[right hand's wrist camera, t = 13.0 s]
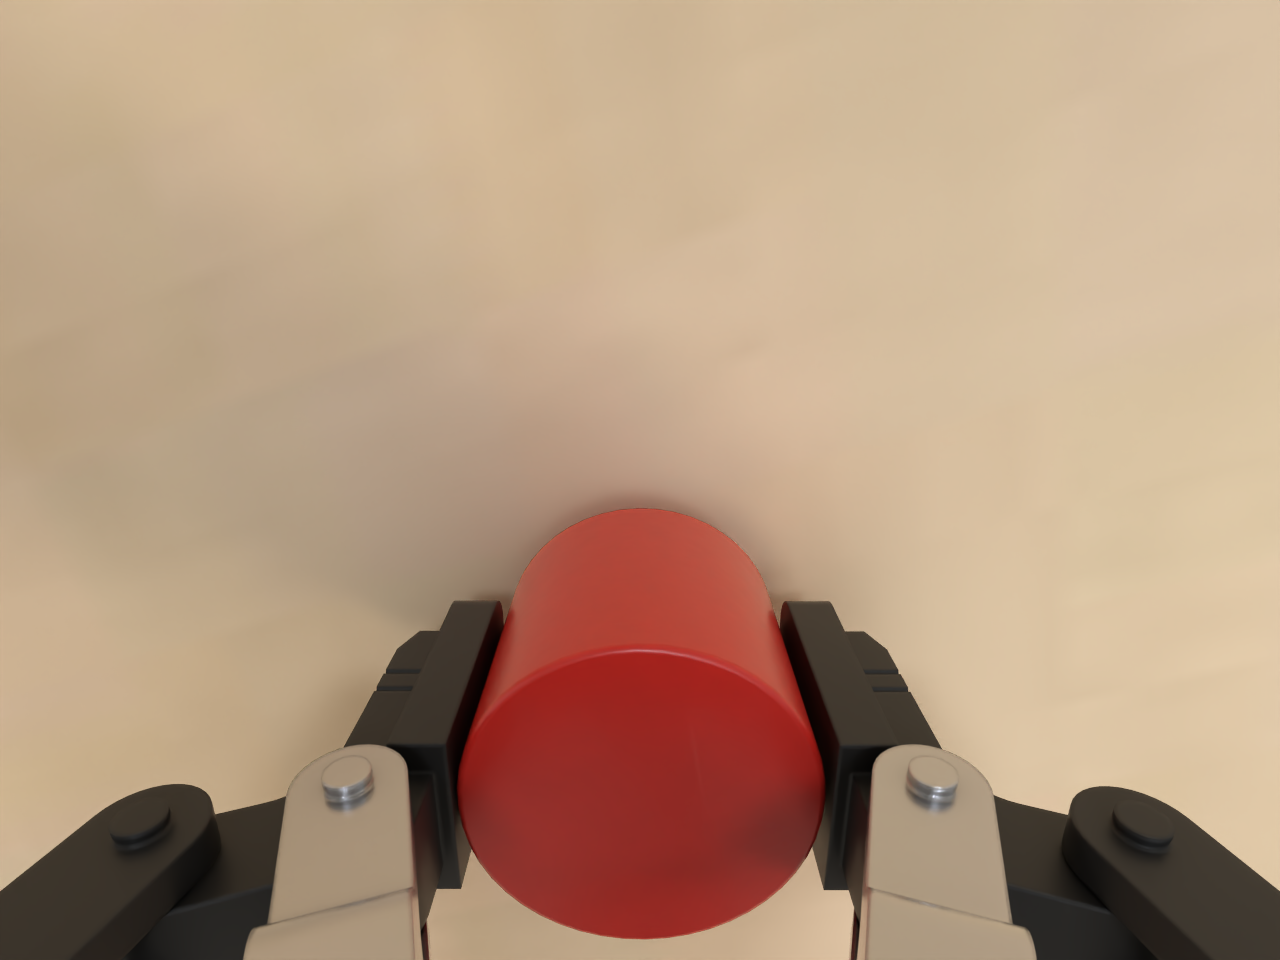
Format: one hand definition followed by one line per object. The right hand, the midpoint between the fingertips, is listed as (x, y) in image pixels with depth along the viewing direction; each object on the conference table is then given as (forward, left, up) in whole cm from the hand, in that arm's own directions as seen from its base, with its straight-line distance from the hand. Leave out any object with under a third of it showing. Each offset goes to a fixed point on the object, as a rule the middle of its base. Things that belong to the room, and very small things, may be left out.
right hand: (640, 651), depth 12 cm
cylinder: (0, 0, -1) cm, 1 cm away
